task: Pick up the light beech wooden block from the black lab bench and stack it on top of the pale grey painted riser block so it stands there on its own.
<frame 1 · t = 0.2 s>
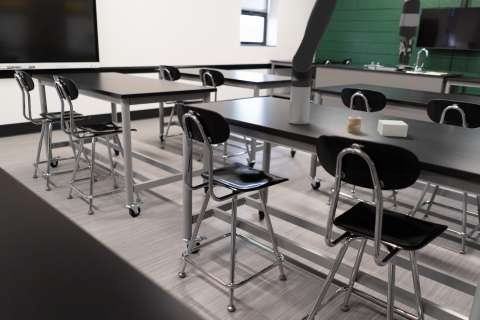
hand: (403, 64, 177), 28 cm above the table, tool pointing down, fingers open, 8 cm apart
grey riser: (391, 133, 173), on the table
beech block: (353, 131, 175), on the table
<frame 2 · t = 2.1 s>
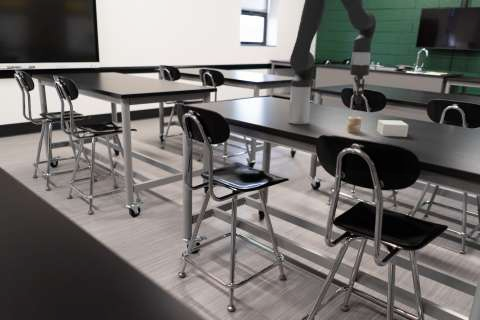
hand: (356, 102, 171), 13 cm above the table, tool pointing down, fingers open, 8 cm apart
nothing on the table moved.
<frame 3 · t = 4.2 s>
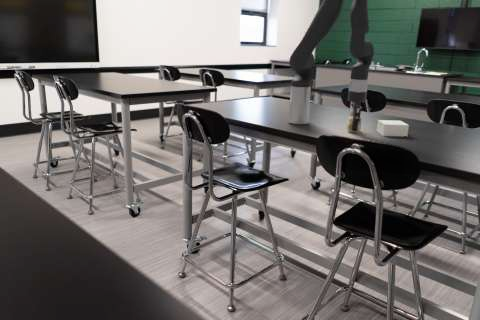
hand: (353, 129, 174), 1 cm above the table, tool pointing down, fingers closed on beech block, 5 cm apart
beech block: (353, 131, 175), on the table, touching gripper
everything else where it was.
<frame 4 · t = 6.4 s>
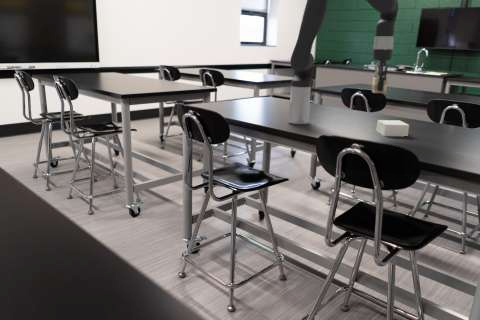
hand: (379, 90, 168), 18 cm above the table, tool pointing down, fingers closed on beech block, 5 cm apart
beech block: (378, 92, 168), point 17 cm above the table, touching gripper
everything else where it was.
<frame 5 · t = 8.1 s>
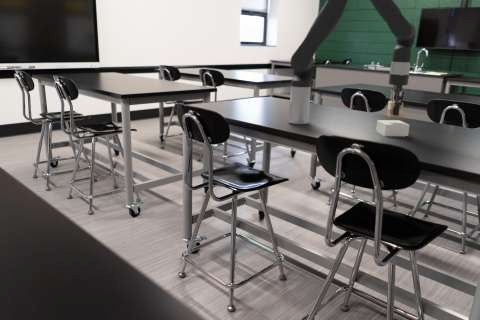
hand: (394, 113, 170), 8 cm above the table, tool pointing down, fingers closed on beech block, 5 cm apart
beech block: (394, 115, 170), point 8 cm above the table, touching gripper
everything else where it was.
when the fingers open (7 cm above the table, at t = 9.1 s): beech block drops 2 cm, resting on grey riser.
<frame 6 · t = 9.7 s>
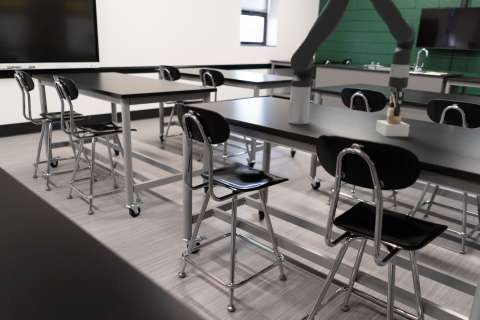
hand: (393, 114, 170), 8 cm above the table, tool pointing down, fingers open, 8 cm apart
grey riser: (391, 134, 173), on the table, touching beech block
beech block: (393, 122, 171), point 5 cm above the table, touching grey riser
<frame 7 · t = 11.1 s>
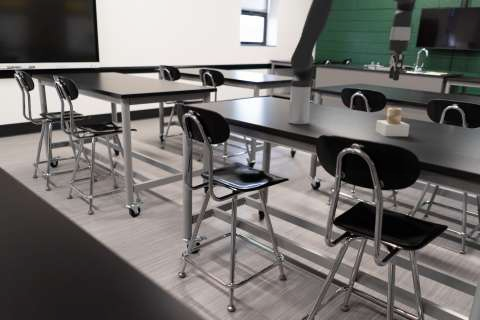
hand: (393, 79, 167), 23 cm above the table, tool pointing down, fingers open, 8 cm apart
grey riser: (391, 133, 173), on the table
beech block: (393, 122, 171), point 5 cm above the table
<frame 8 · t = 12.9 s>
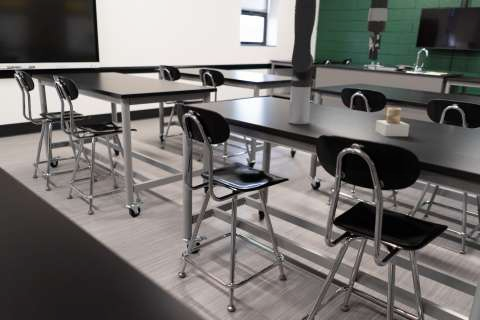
hand: (372, 59, 173), 30 cm above the table, tool pointing down, fingers open, 8 cm apart
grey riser: (391, 133, 173), on the table, touching beech block
beech block: (392, 122, 171), point 5 cm above the table, touching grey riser
at the end: beech block 0.1 cm off-centre on the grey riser, point 5.0 cm above the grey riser's base; beech block tilted 0°; the gripper is holding nothing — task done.
